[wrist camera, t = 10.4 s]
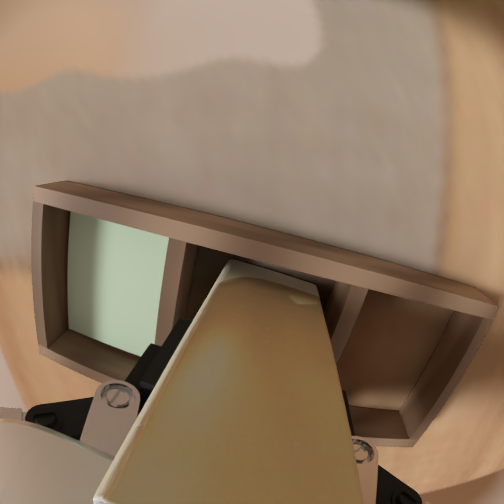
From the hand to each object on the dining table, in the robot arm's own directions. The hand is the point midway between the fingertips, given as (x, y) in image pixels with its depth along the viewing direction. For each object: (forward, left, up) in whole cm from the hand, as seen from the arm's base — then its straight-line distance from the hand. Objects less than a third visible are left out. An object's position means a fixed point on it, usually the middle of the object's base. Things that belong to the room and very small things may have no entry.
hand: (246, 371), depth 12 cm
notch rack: (0, 0, -4) cm, 4 cm away
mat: (+7, 0, -4) cm, 8 cm away
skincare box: (0, 0, -4) cm, 4 cm away
